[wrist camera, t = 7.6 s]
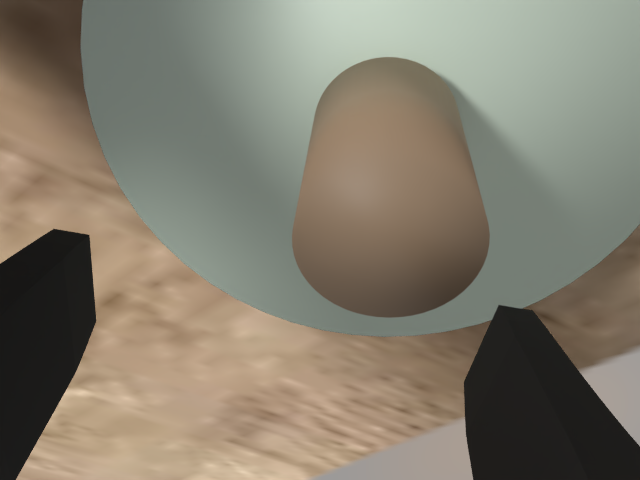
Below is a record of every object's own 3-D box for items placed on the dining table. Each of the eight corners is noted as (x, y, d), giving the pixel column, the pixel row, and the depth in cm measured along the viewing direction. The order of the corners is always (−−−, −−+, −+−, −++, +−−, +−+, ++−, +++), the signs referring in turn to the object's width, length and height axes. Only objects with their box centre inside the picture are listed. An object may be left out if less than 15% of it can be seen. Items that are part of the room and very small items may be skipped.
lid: (129, 293, 19) (47, 455, 14) (39, -312, 11) (-221, -398, 6) (582, 340, 19) (652, 522, 14) (848, -242, 10) (1233, -276, 6)
